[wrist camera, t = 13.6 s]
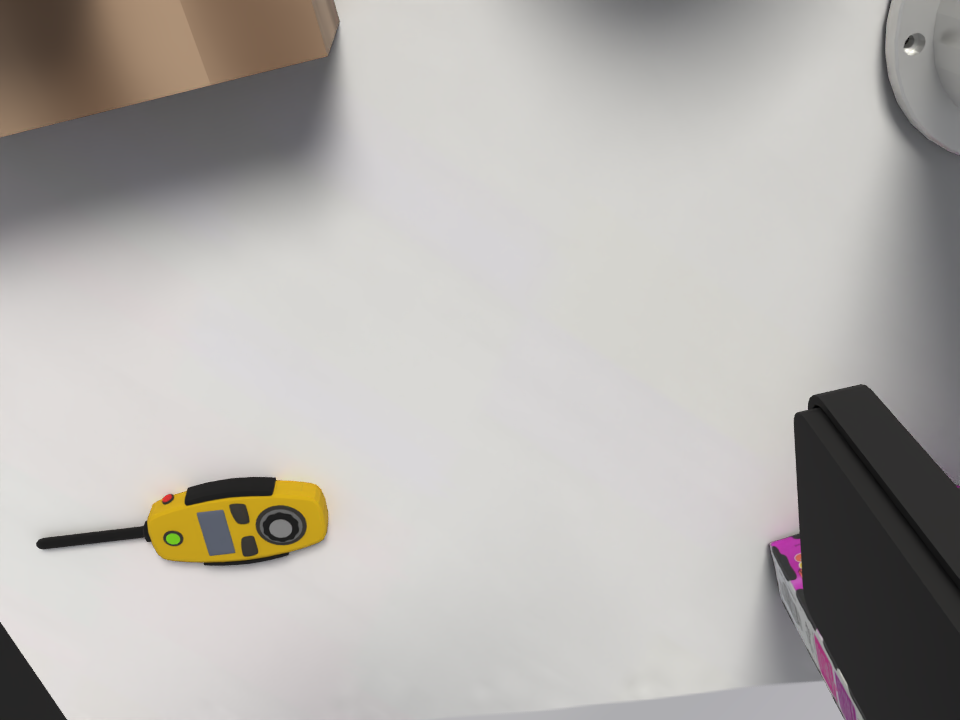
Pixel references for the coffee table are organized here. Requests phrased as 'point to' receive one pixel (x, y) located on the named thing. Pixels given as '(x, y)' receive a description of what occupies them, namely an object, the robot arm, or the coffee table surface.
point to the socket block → (143, 50)
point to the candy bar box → (810, 623)
